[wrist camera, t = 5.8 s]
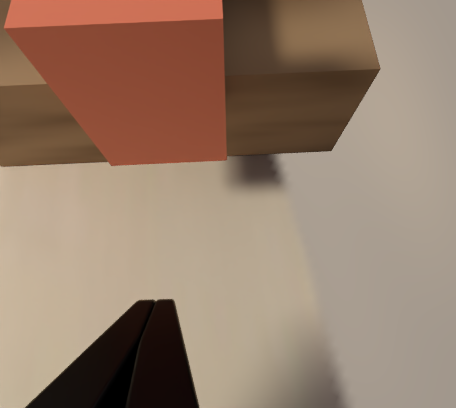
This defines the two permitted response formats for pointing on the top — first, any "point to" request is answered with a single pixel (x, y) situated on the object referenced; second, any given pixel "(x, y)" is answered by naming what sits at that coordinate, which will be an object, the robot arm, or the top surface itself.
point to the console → (234, 84)
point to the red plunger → (133, 73)
